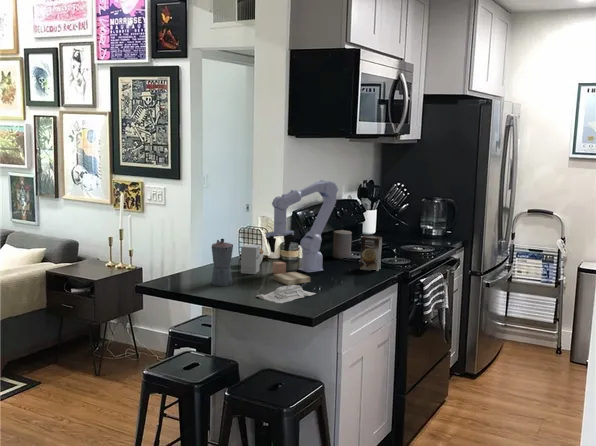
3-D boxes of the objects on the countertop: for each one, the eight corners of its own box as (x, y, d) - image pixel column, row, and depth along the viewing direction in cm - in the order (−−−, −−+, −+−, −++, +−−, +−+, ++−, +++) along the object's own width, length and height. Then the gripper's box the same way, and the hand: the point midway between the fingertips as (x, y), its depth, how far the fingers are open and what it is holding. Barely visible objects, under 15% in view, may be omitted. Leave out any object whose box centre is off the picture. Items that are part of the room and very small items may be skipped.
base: (295, 276, 285) (295, 271, 285) (310, 281, 275) (310, 277, 275) (273, 279, 278) (273, 274, 278) (287, 285, 269) (287, 280, 268)
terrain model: (253, 302, 247) (252, 290, 246) (284, 288, 266) (284, 277, 265) (288, 309, 238) (288, 296, 237) (318, 294, 257) (318, 282, 256)
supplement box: (255, 274, 287) (256, 247, 285) (240, 273, 288) (240, 246, 286) (259, 271, 294) (260, 244, 292) (244, 270, 295) (245, 243, 293)
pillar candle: (328, 256, 332) (329, 228, 330) (341, 254, 339) (342, 227, 336) (342, 259, 325) (343, 231, 323) (354, 257, 332) (355, 229, 329)
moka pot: (216, 288, 259) (217, 241, 256) (204, 280, 273) (204, 235, 270) (238, 286, 264) (238, 240, 261) (225, 278, 277) (225, 234, 274)
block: (280, 271, 294) (280, 261, 293) (285, 273, 290) (286, 263, 289) (272, 272, 291) (272, 262, 291) (277, 274, 288) (277, 264, 287)
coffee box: (359, 269, 303) (360, 236, 300) (363, 266, 309) (364, 235, 306) (377, 271, 299) (379, 238, 297) (380, 268, 305) (382, 236, 303)
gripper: (288, 220, 294) (287, 248, 296) (262, 222, 286) (261, 251, 288) (296, 222, 289) (296, 251, 291) (270, 224, 281) (269, 254, 283)
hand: (279, 251), depth 289 cm, fingers open, 7 cm apart
